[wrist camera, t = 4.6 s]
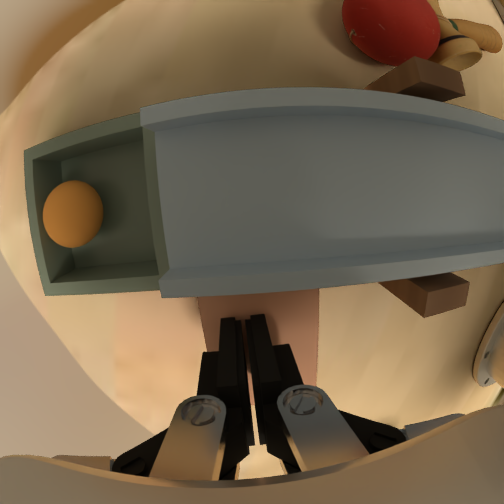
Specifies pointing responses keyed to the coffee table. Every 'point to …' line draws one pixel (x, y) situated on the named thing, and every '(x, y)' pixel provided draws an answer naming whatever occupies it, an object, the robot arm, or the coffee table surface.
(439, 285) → the stand
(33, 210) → the green square tray
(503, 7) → the coffee box
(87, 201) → the ball
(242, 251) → the lever
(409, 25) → the kendama
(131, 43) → the coffee table surface
